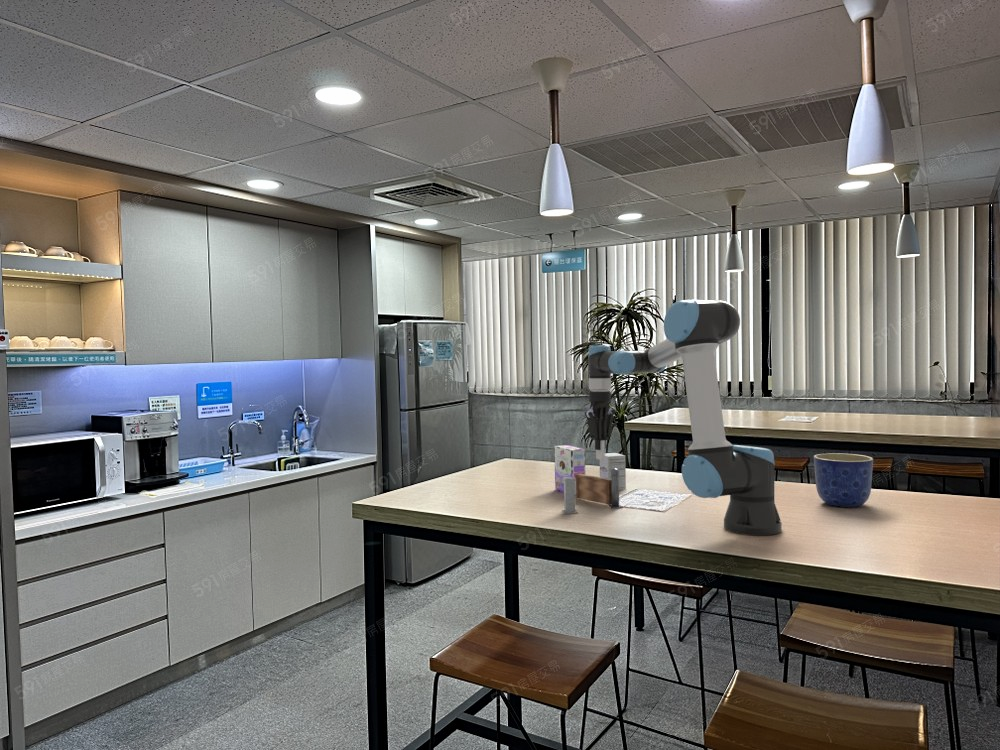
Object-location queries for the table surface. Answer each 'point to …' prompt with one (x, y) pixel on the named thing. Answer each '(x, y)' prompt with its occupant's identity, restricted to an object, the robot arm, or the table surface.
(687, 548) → the table surface
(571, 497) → the stile
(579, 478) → the gate
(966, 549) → the table surface
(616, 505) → the hinge post
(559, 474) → the candy box
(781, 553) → the table surface
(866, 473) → the planter
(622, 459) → the supplement box
